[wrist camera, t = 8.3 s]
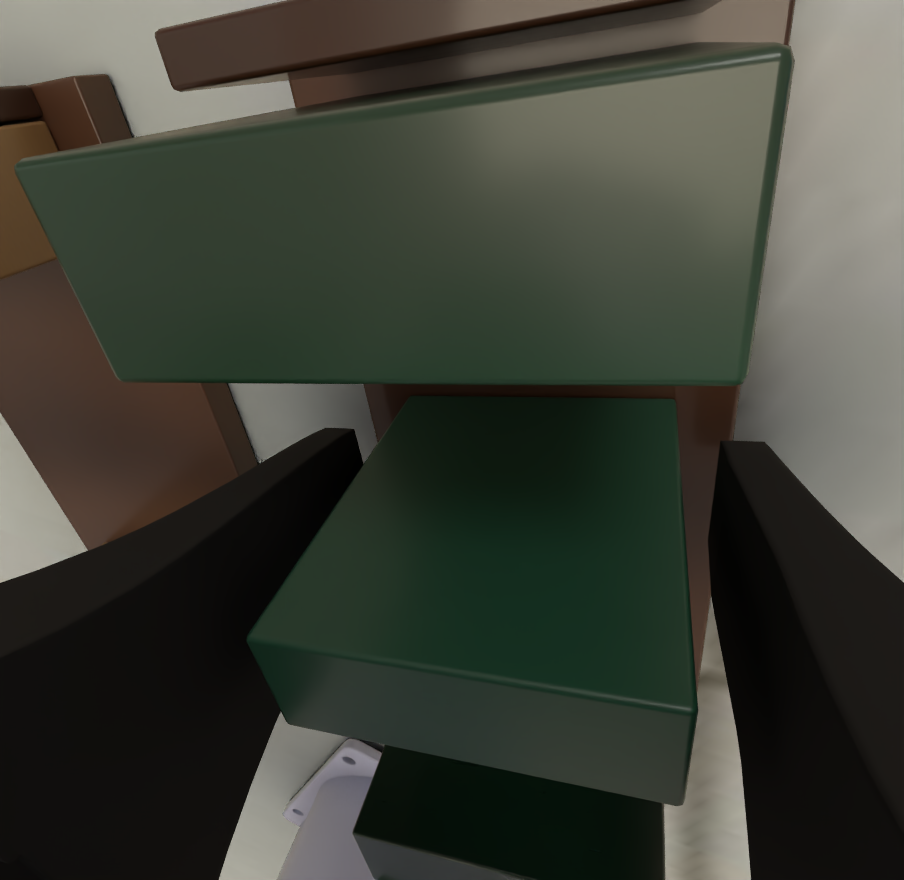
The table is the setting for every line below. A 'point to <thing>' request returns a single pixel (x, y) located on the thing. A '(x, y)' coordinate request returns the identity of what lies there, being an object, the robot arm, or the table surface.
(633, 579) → the green book
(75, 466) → the tan rack
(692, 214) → the green rack
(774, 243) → the table surface
